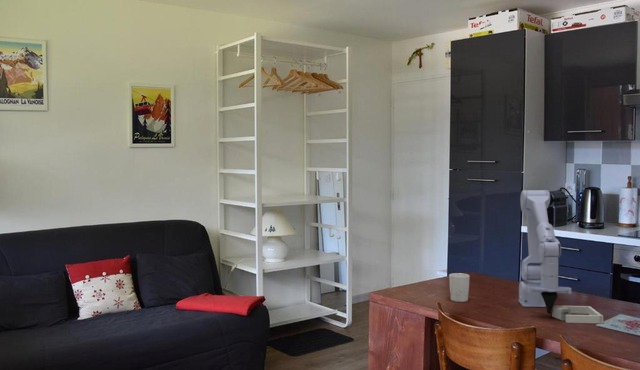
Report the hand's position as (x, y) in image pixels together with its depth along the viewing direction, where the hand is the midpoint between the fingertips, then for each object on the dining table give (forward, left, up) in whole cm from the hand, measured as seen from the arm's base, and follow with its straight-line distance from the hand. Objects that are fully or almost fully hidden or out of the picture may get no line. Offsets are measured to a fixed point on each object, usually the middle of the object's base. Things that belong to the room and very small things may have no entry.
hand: (549, 313), depth 204 cm
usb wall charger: (+3, 0, -2) cm, 4 cm away
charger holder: (+10, 0, -2) cm, 10 cm away
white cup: (-28, +22, -2) cm, 36 cm away
